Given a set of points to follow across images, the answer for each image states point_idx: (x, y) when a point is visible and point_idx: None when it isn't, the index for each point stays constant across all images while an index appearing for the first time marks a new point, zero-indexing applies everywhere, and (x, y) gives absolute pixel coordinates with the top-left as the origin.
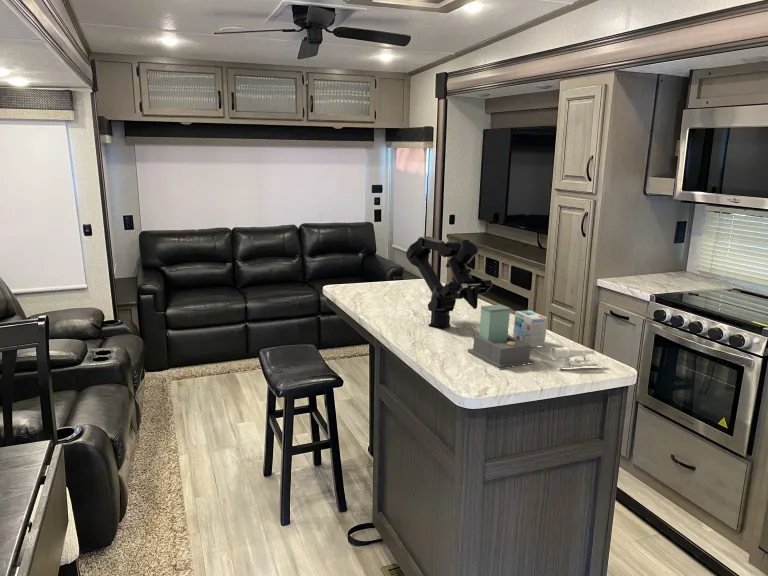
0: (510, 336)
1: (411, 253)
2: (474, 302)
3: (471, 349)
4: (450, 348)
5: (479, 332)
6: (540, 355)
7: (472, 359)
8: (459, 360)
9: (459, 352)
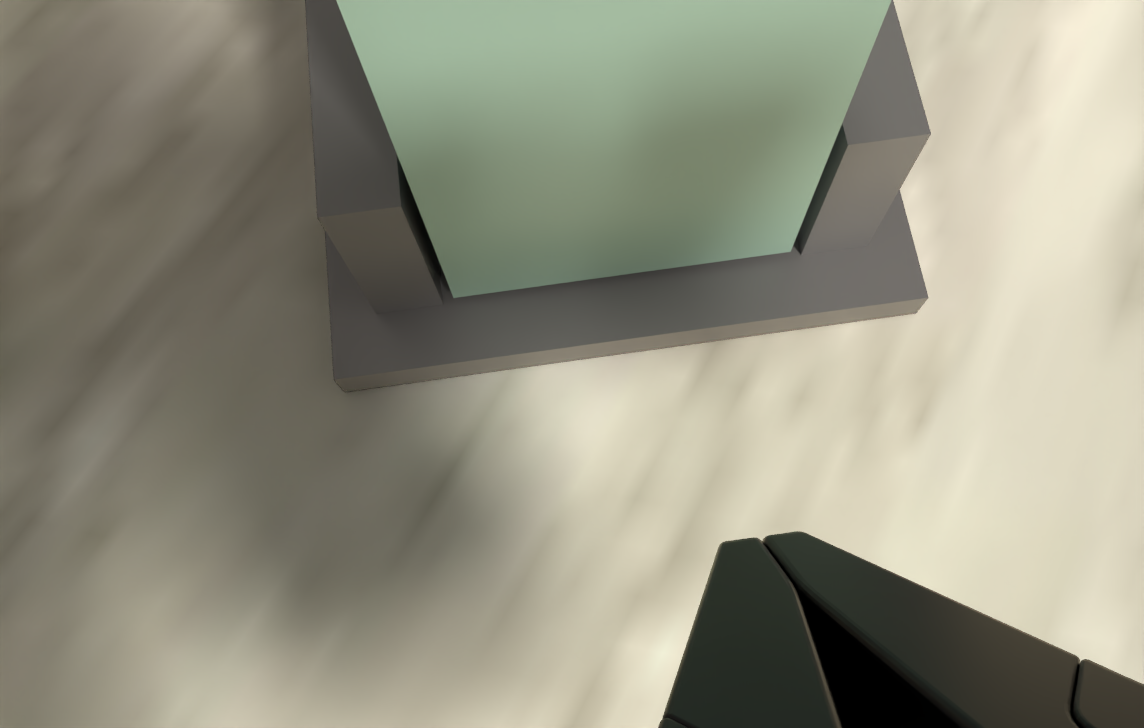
0: (324, 12)
1: None
2: (860, 589)
3: (880, 272)
4: (1122, 497)
5: (842, 109)
6: (45, 43)
7: (955, 66)
8: (1134, 64)
9: (1039, 316)
